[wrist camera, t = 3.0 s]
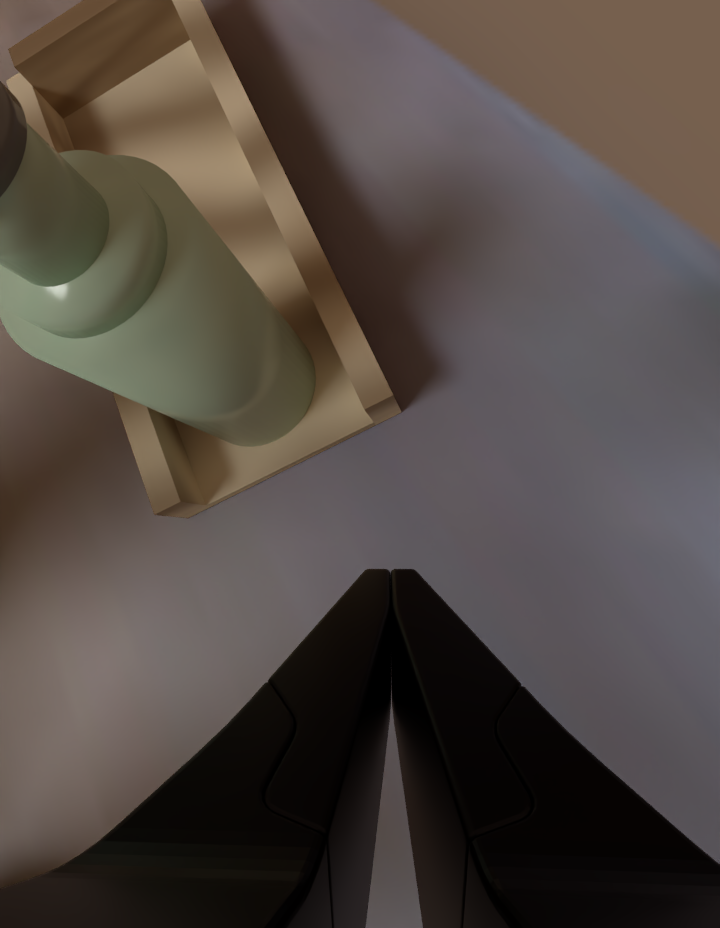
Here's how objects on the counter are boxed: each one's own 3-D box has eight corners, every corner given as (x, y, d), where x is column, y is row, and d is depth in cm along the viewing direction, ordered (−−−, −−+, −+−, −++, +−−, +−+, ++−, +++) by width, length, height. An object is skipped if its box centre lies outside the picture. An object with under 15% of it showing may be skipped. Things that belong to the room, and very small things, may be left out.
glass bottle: (252, 473, 22) (-109, 349, 8) (171, 391, 23) (-252, 167, 9) (342, 375, 21) (129, 80, 8) (255, 299, 23) (-52, -63, 9)
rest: (401, 412, 21) (389, 386, 18) (188, 518, 22) (138, 513, 19) (209, 19, 27) (172, -58, 23) (46, 121, 28) (-13, 62, 24)
